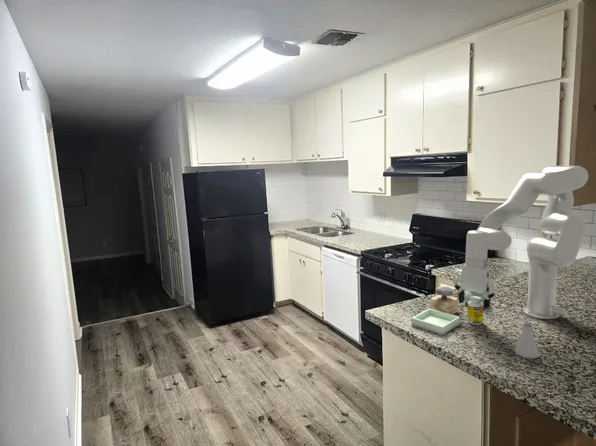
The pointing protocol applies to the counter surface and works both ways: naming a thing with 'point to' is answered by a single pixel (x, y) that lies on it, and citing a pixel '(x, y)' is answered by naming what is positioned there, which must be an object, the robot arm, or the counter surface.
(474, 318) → the supplement bottle
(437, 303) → the tan box with knob
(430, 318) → the tray
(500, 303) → the counter surface
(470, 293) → the air freshener
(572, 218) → the robot arm
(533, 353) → the flask
